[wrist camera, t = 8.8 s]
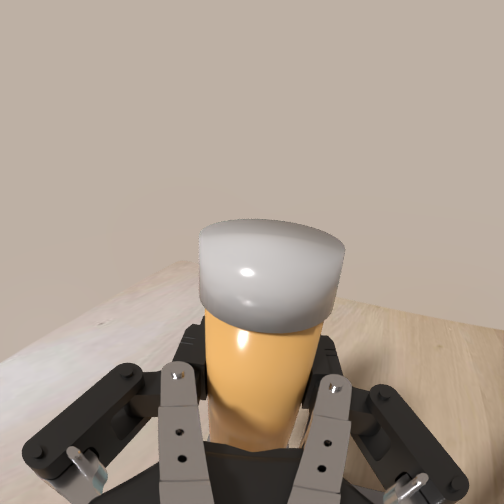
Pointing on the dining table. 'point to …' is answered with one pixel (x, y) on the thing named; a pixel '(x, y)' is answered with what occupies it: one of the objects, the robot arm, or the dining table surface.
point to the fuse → (263, 324)
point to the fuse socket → (371, 494)
